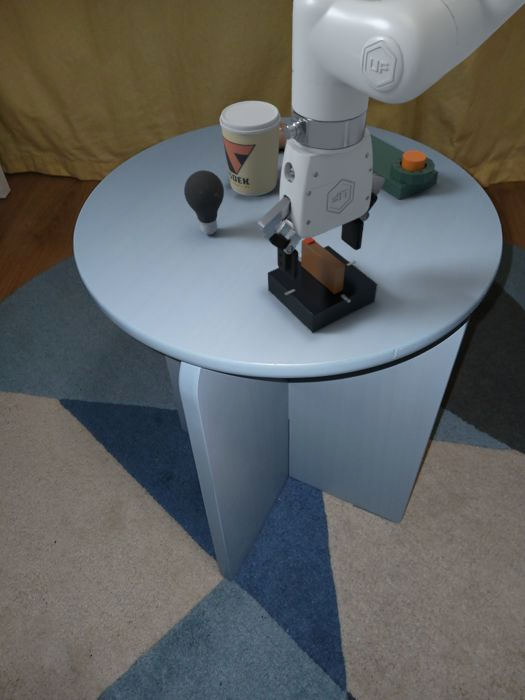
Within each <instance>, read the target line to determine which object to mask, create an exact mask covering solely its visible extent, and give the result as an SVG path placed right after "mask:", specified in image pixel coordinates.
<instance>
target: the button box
mask: <svg viewBox="0 0 525 700" xmlns="http://www.w3.org/2000/svg"><path fill="white" fill-rule="evenodd" d="M370 136H371V142H372V153H373V173H377V174H378V175H380V176H382V177H383V178H385V182H384V184H383V186H382V188H381V190H383V191H385V192H386V193H387V194H390V195H391V196H393V197H394V198H396V199H398V200H403V199H404V198H407V197H409V196H411V195H414V194H416V193H419V192H421V191H423V190H425V189H427V188H430V187H432V186H434V185H436V184H437V181H438V177H439V171H438V170H437V169H435V167H436V164H435V163H434V160H433V159H431V158H429V157H427V156H426V162H425V167H424V169H422V170H420V171H411V170H406V169H404V168H403V167H402V166H401V164H402V158H403V154H404V153H405V151H403V150H400V149H399V148H397V147H395V146H393V145H391V144H390V143H388V142H386V141H384V140H382V139H380V138H378V137H377V136H376V135H374V134H372V133H370Z"/></svg>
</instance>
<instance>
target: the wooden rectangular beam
mask: <svg viewBox="0 0 525 700" xmlns="http://www.w3.org/2000/svg"><path fill="white" fill-rule="evenodd" d="M300 254H301V256H300V258H301V266H302V267H303V268H304V269H306V270H307V271H308V272H309V273H310V274H311V275H312V276H314V277H315V278H316V279H317V280H318V281H319V282H321V283H322V284H323V285H324V286H325V287H326V288H327V289H329V290H330V291H331V292H332V293H333V294H336V293H338V292H340V291H342V290H343V282H344V271H345V264H343V263H342V262H341V261H340V260H338V259H337V258H336V257H335V256H333V255H332V254H331V253H330V252H328V251H327V250H326V249H325V248H324V247H323V246H322V245H321V244H320V243H319V242H317V241H316V239H314V237H312V238H303V239H301V253H300Z"/></svg>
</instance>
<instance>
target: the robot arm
mask: <svg viewBox="0 0 525 700" xmlns="http://www.w3.org/2000/svg"><path fill="white" fill-rule="evenodd" d="M524 5H525V0H293V3H292V35H291V37H292V38H291V41H292V42H291V44H292V45H291V54H292V55H291V112H290V122H289V123H288V124H287V125H286V126H284V127H283V134H284V137H285V138H286V139H287V143H286V147H285V149H284V152H283V158H282V165H281V172H280V181H279V195H278V196H279V199H278V202H277V203H276V204H275V205H274V206H273V207H272V208H271V209H269V210H268V211H267V212H266V213H265V214H264V215H263V216H262V217H261V218H260V219H259V220H258V221H257V223H256V227H257V229H258V230H259V231H260V233H261V234H262V235H263V237H264V239H266V241H268V242H269V243H270V244H271V245H272V246H273V247H276V250H277V251H276V252H277V257H276V258H277V259H276V260H277V261H276V262H277V268H279V269H280V270H281V271H283V272H285V273H286V274H287V275H288V276H289V277H290V278H292V279H295V278H297V276H298V256H299V251H298V250H297V249H296V247H298V245H299V243H300V241H302V239H306V238H315V237H316V236H320V235H322V234H325V233H327V232H329V231H331V230H334V229H336V228H338V227H340V226H341V235H340V239H341V241H343V242H344V243H345V244H346V245H347V246H349V247H350V248H351V249H353V250H354V251H359V250H361V248H362V241H363V233H364V227H365V222H366V221H368V220H369V218H370V216H371V215H370V211H371V210H372V208H373V207H374V205H375V204H376V203H377V201H378V195H379V194H380V193H381V190H382V186H383V184H384V182H385V178H383V177H382V176H380V175H378V174H377V173H373V153H372V142H371V136H370V134H371V132H370V130H369V129H368V127H367V117H368V110H369V107H368V106H369V100H370V98H371V99H373V100H376V101H378V102H381V103H384V104H389V105H390V104H391V105H399V104H405V103H408V102H410V101H412V100H415V99H416V98H418V97H420V96H421V95H422V94H424V93H425V92H426V91H427V90H429V89H430V88H431V87H432V86H433V85H435V84H437V82H439V81H440V80H441V79H442V78H443V77H444V76H445V75H446V74H448V73H449V72H451V71H452V70H453V69H454V68H456V67H457V66H458V65H460V64H461V63H462V62H463V61H465V60H466V59H468V57H470V56H471V55H472V54H473V53H474V52H475V51H476V50H477V49H479V47H481V45H483V43H485V41H487V40H488V39H489V38H490V37H491V36H492V35H493V34H494V33H495V32H496V31H498V29H499V28H501V26H503V25H504V23H506V22H507V21H508V20H509V19H510V18H511V17H512V16H513V15H514V14H516V13H517V11H518V10H519V9H521V7H523V6H524ZM279 224H280V225H279ZM278 225H279V226H278ZM277 226H278V227H277ZM276 228H277V229H276ZM290 230H292V232H291V234H290V236H289V237H288V238H287V237H286V236H287V235H288V234H289V232H290Z"/></svg>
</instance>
